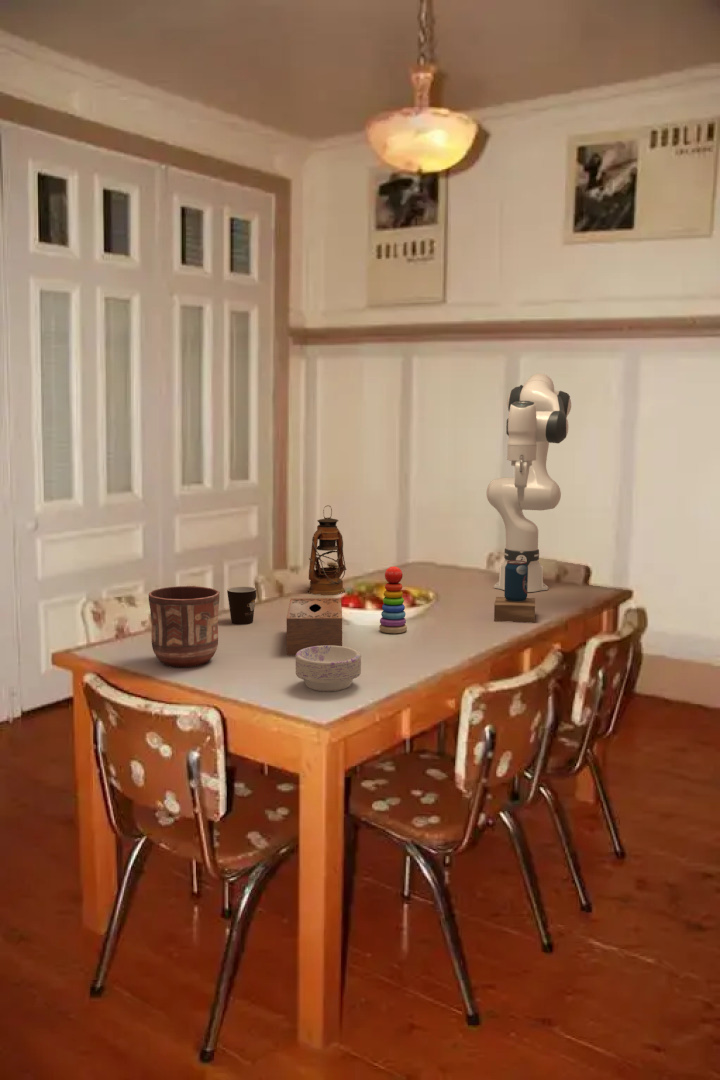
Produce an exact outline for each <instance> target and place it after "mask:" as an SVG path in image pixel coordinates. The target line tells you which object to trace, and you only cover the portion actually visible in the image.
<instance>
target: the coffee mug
mask: <svg viewBox="0 0 720 1080" xmlns="http://www.w3.org/2000/svg"><path fill="white" fill-rule="evenodd" d="M226 590H227V592H226V593H227V599H228V606H229V607H228V608H229V612H230V613H229V614H230V622H231V624H233V625H236V626H237V625H238V626H240V625H241V626H242V625H243V626H244V625H250V624H253V623H254V616H255V615H254V614H255V613H254V612H255V606H256V600H257V588H255V587H252V586H233V587H229V588H227V589H226Z"/></svg>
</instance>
